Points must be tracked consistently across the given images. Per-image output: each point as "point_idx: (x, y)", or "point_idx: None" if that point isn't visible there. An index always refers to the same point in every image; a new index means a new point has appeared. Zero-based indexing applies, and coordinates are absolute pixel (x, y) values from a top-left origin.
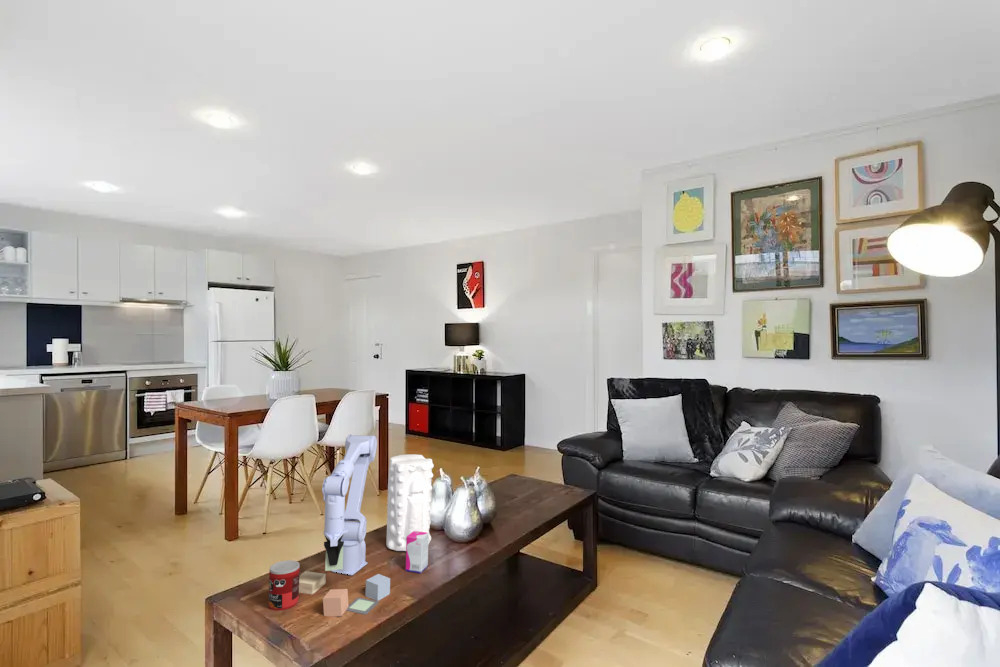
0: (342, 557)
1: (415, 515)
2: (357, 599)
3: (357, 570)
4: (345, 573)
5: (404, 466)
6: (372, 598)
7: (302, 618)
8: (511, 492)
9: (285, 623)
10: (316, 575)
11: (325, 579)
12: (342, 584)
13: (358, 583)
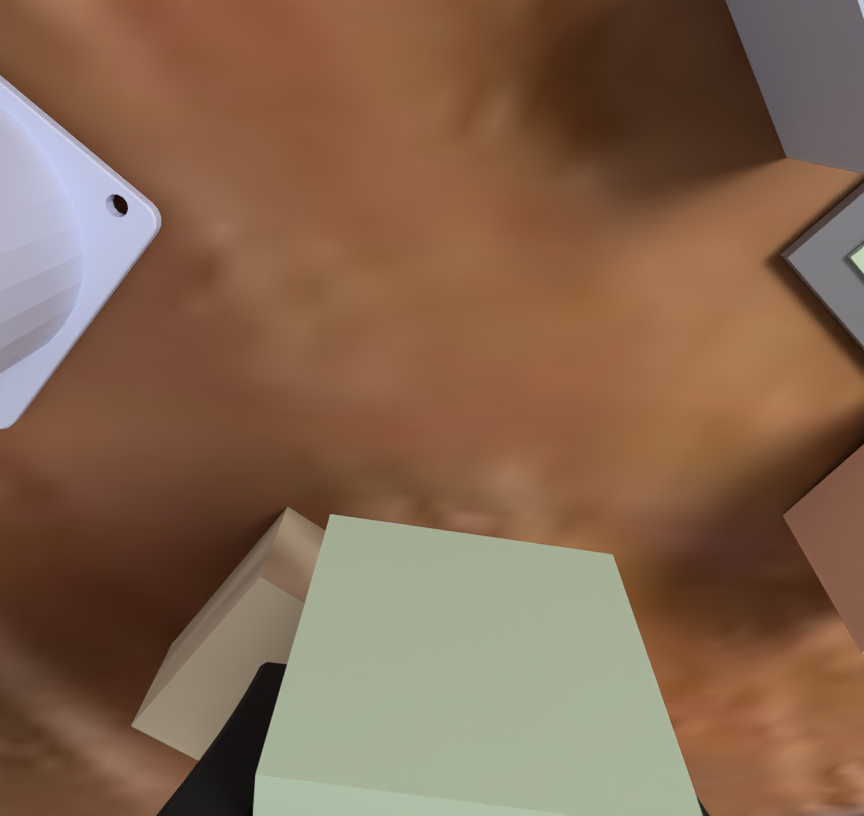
0: (662, 728)
1: None
2: (831, 272)
3: (50, 124)
4: (109, 292)
5: None
6: None
7: (816, 713)
8: None
9: (809, 798)
10: (272, 656)
11: (276, 536)
12: (353, 355)
13: (397, 172)
